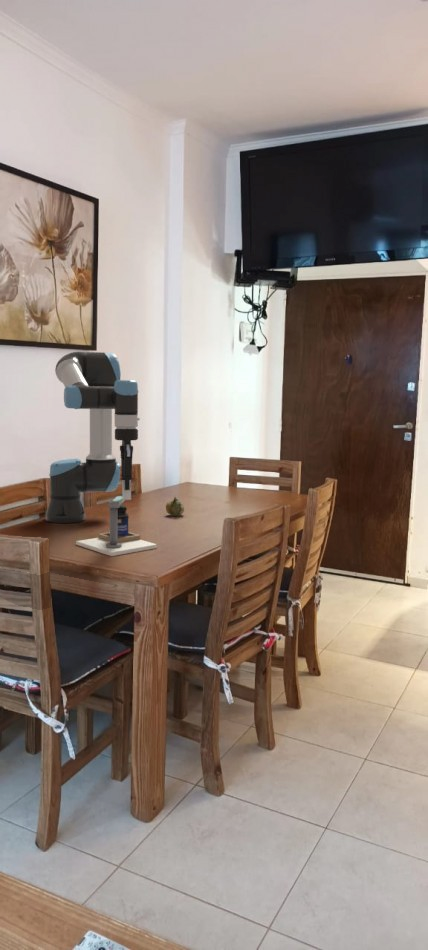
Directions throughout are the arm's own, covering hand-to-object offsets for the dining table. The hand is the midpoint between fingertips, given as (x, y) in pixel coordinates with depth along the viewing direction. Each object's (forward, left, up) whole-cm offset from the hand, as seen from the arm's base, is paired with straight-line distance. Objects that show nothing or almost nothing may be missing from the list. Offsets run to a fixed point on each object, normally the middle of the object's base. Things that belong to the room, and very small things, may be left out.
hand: (126, 499), depth 233 cm
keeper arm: (0, -4, -1) cm, 4 cm away
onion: (-30, +47, -16) cm, 58 cm away
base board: (0, -4, -15) cm, 16 cm away
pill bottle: (-5, +1, -14) cm, 15 cm away
